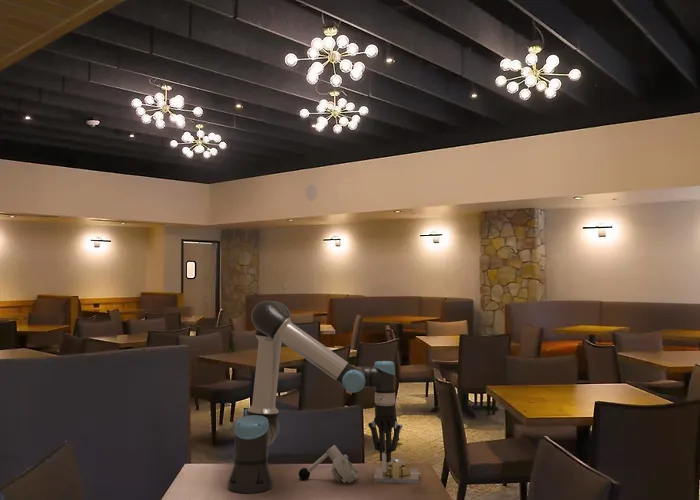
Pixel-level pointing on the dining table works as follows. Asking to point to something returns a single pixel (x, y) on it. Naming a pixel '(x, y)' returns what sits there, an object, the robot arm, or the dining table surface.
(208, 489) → the dining table surface
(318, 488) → the dining table surface
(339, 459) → the mechanical valve
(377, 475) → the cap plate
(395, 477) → the ring nut
